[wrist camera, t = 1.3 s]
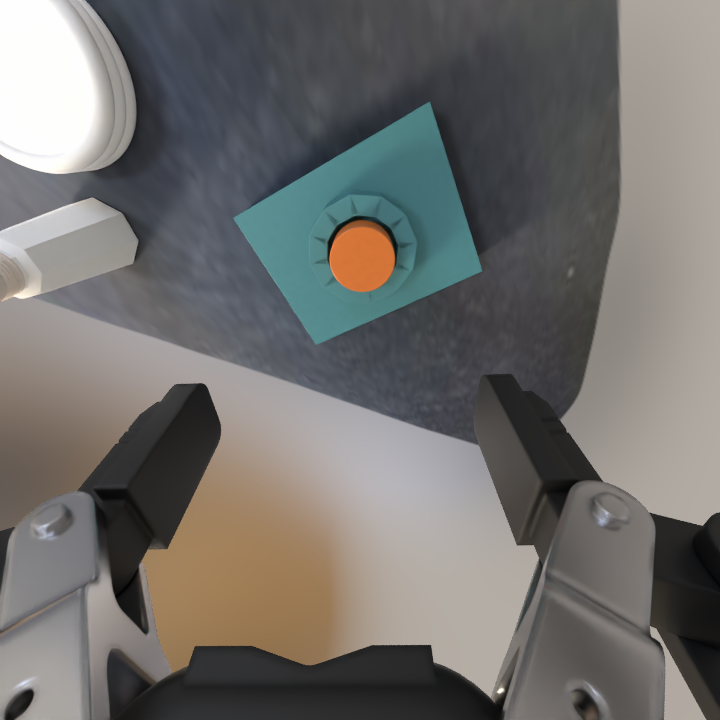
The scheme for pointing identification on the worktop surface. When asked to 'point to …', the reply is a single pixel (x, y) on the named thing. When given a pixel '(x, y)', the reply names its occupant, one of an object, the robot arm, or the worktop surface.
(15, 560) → the robot arm
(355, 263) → the orange button cap
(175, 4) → the worktop surface
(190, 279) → the worktop surface
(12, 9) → the white round stack
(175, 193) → the worktop surface
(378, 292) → the button base
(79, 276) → the pepper shaker
